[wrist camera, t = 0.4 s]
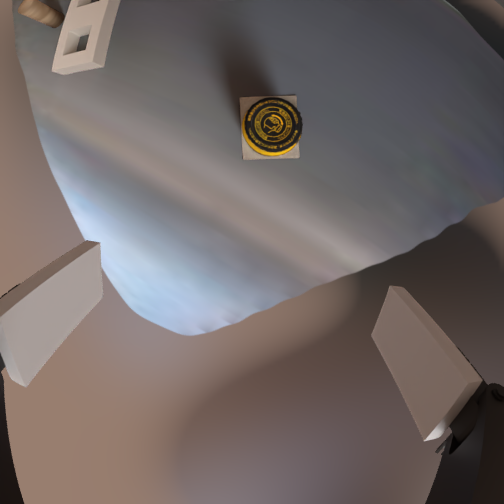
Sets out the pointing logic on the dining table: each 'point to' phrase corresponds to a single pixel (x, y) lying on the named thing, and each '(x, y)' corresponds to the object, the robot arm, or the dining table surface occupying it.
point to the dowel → (41, 13)
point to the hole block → (80, 24)
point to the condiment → (270, 127)
